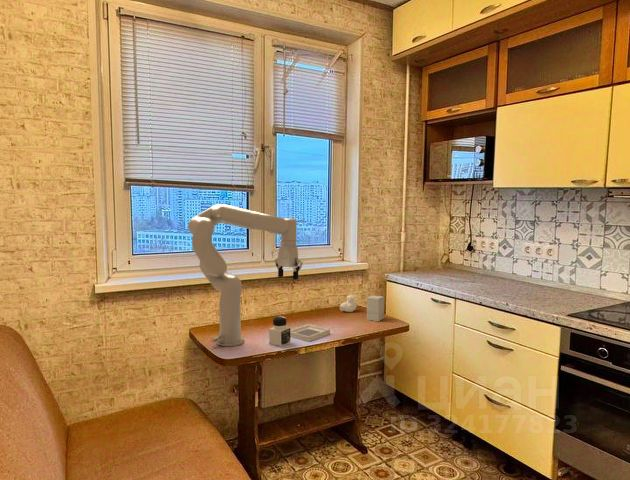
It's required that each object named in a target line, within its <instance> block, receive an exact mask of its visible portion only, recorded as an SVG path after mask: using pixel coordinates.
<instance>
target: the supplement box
mask: <svg viewBox="0 0 630 480" xmlns="http://www.w3.org/2000/svg"><path fill="white" fill-rule="evenodd" d="M384 312H385V296H381V295H380V296H379V295H374V294H371V295H370V296H368V297H366V320H367V321H371V320H373V322H378V321H379V322H380V320H381V321H382V319H383V320H384V319H385V318H384V317H385V313H384Z"/></svg>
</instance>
